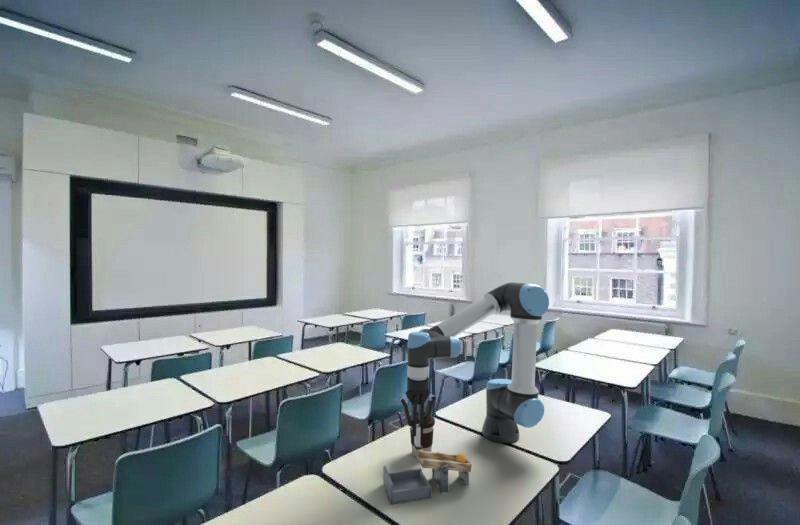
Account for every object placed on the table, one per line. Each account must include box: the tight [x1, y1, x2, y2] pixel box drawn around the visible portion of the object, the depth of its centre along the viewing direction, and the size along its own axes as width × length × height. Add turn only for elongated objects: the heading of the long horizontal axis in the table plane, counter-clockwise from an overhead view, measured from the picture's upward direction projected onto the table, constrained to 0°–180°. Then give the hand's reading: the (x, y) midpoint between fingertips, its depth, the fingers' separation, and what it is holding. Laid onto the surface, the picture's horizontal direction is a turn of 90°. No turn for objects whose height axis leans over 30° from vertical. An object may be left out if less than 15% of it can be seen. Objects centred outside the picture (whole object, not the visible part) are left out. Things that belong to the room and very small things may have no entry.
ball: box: [456, 452, 468, 463], centre depth 126 cm, size 4×4×4 cm
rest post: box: [458, 471, 470, 486], centre depth 126 cm, size 2×5×4 cm, turn 14°
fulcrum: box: [431, 451, 449, 494], centre depth 124 cm, size 2×10×8 cm, turn 14°
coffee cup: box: [409, 411, 436, 459], centre depth 143 cm, size 10×10×15 cm
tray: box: [382, 465, 432, 505], centre depth 121 cm, size 13×11×6 cm
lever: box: [413, 445, 473, 473], centre depth 128 cm, size 17×14×2 cm
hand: (417, 444), depth 131 cm, fingers closed
